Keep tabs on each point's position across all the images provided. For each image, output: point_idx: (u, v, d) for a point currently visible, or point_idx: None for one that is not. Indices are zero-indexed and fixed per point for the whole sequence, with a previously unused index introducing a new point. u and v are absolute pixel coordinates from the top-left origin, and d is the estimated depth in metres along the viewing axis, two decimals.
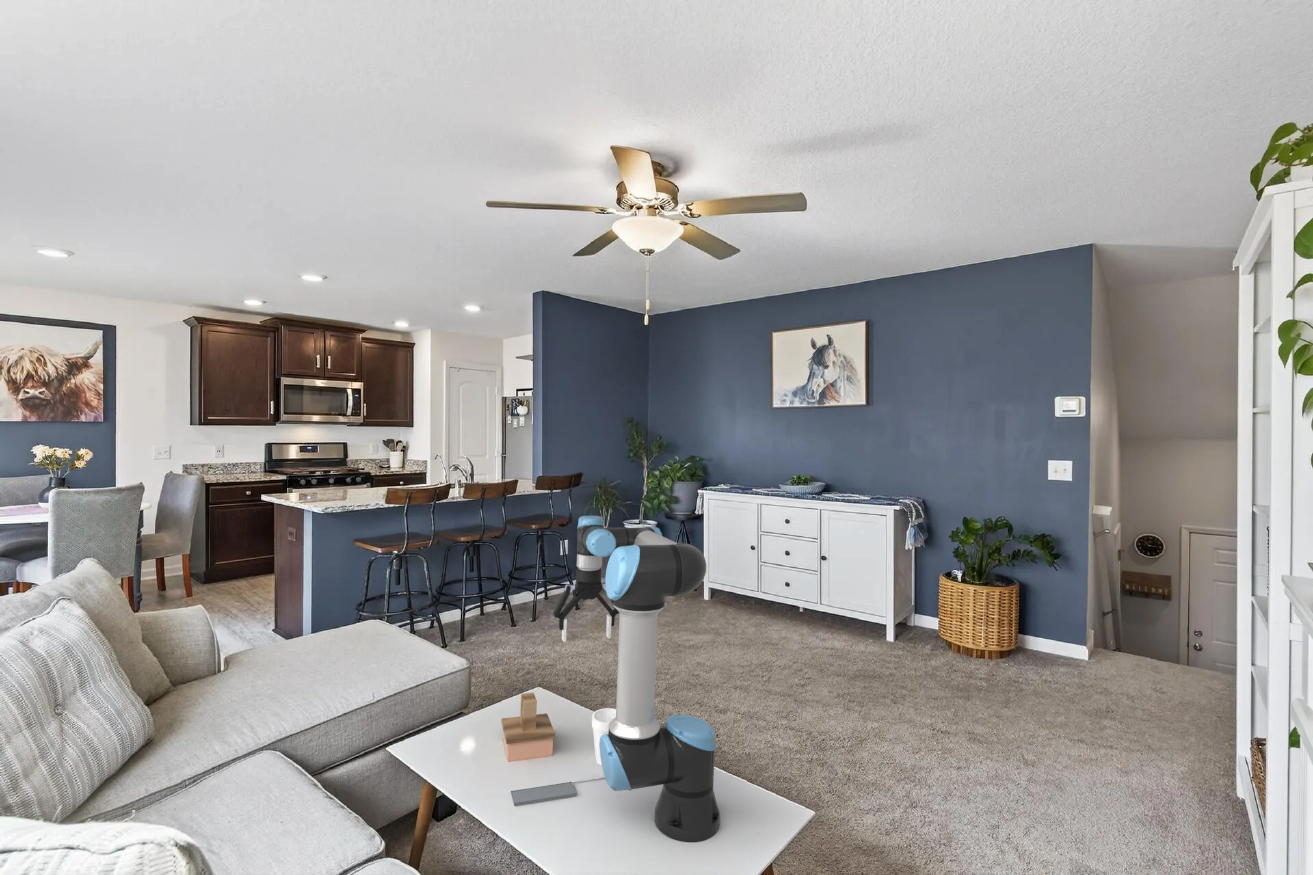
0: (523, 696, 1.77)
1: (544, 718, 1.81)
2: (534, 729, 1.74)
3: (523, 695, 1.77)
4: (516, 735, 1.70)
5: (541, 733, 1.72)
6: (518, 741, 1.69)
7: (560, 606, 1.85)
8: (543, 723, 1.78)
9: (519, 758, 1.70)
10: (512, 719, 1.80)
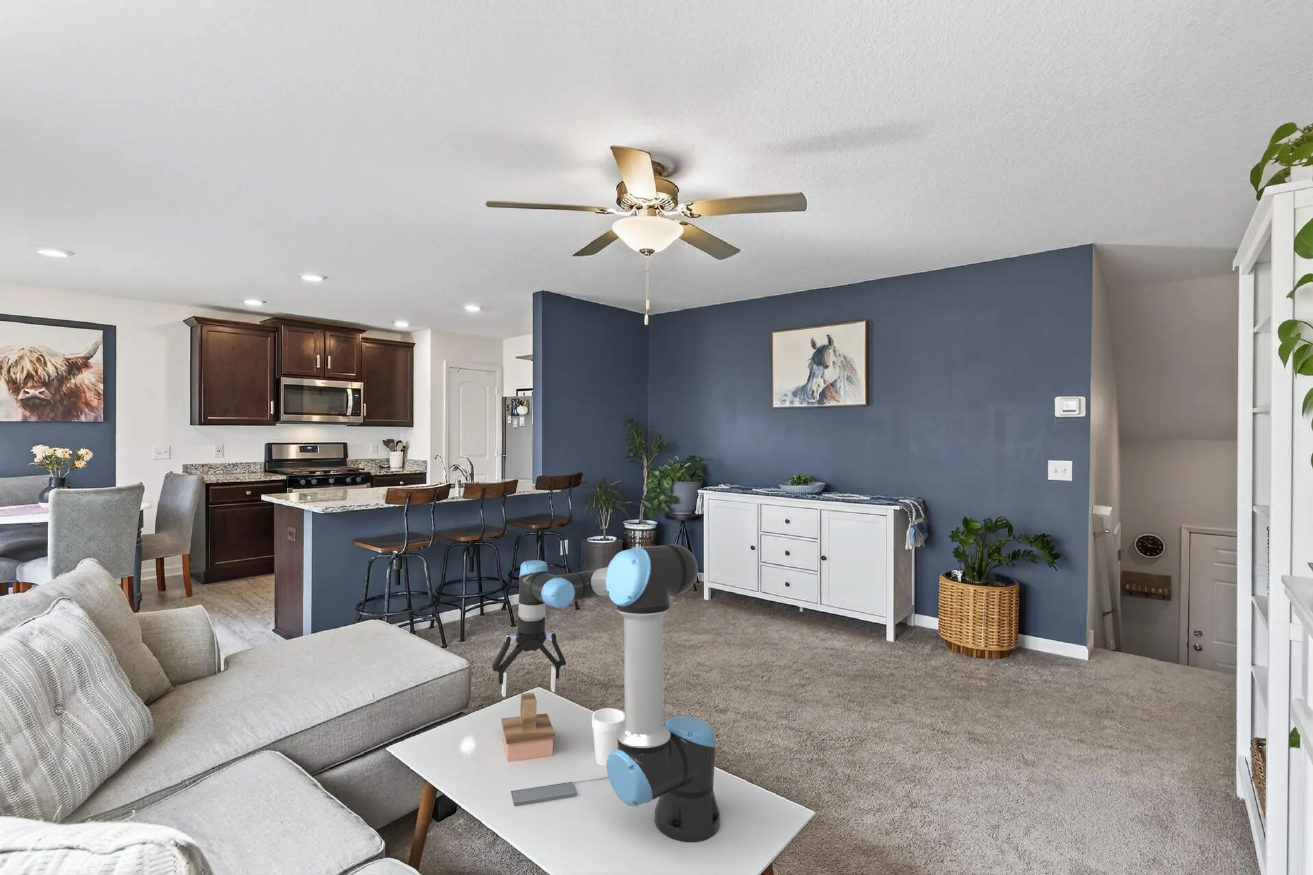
0: (523, 696, 1.77)
1: (544, 718, 1.81)
2: (534, 729, 1.74)
3: (523, 695, 1.77)
4: (516, 735, 1.70)
5: (541, 733, 1.72)
6: (518, 741, 1.69)
7: (499, 659, 1.72)
8: (543, 723, 1.78)
9: (519, 758, 1.70)
10: (512, 719, 1.80)
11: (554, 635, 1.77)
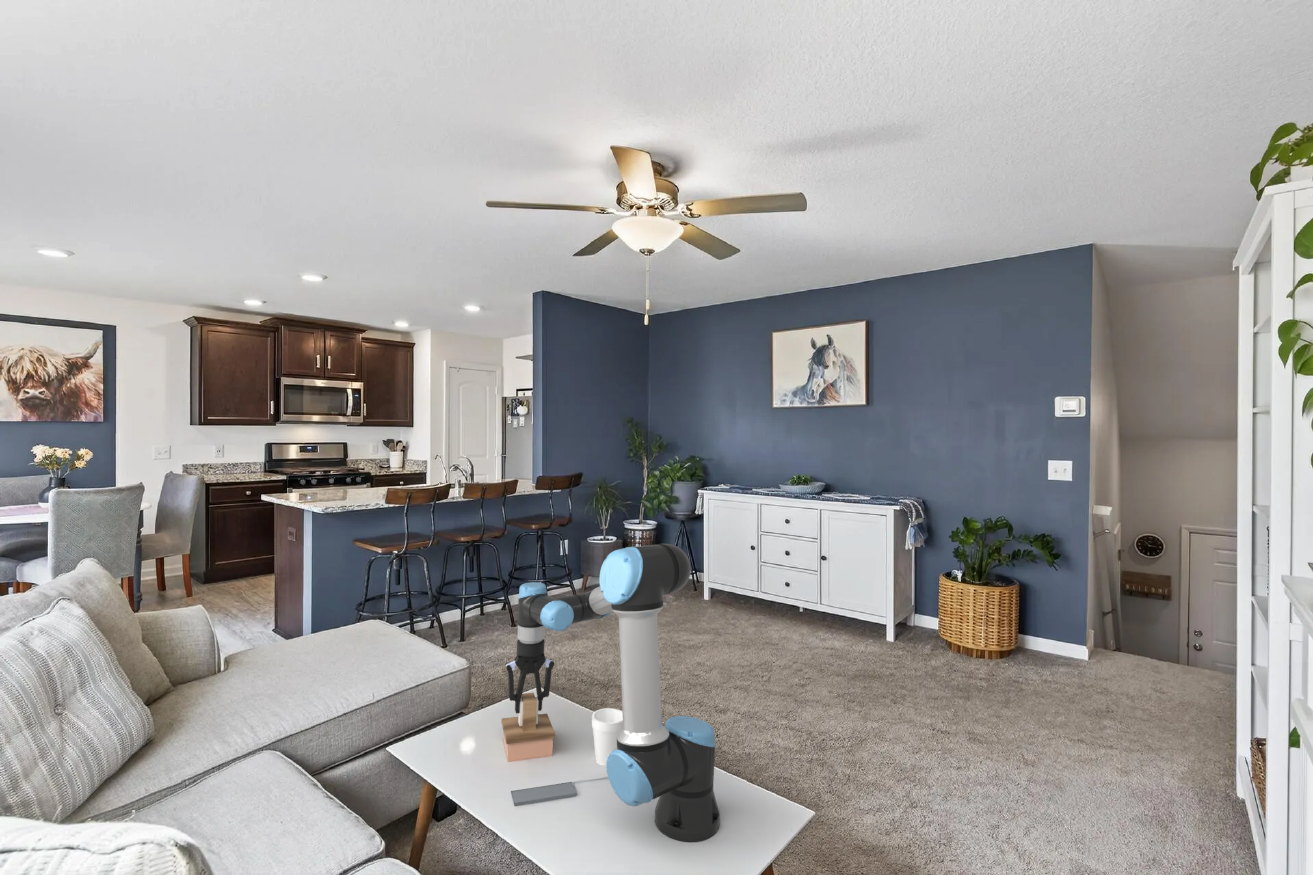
0: (523, 696, 1.77)
1: (544, 718, 1.81)
2: (534, 729, 1.74)
3: (523, 695, 1.77)
4: (516, 735, 1.70)
5: (541, 733, 1.72)
6: (518, 741, 1.69)
7: (510, 688, 1.73)
8: (543, 723, 1.78)
9: (519, 758, 1.70)
10: (512, 719, 1.80)
11: (552, 663, 1.77)
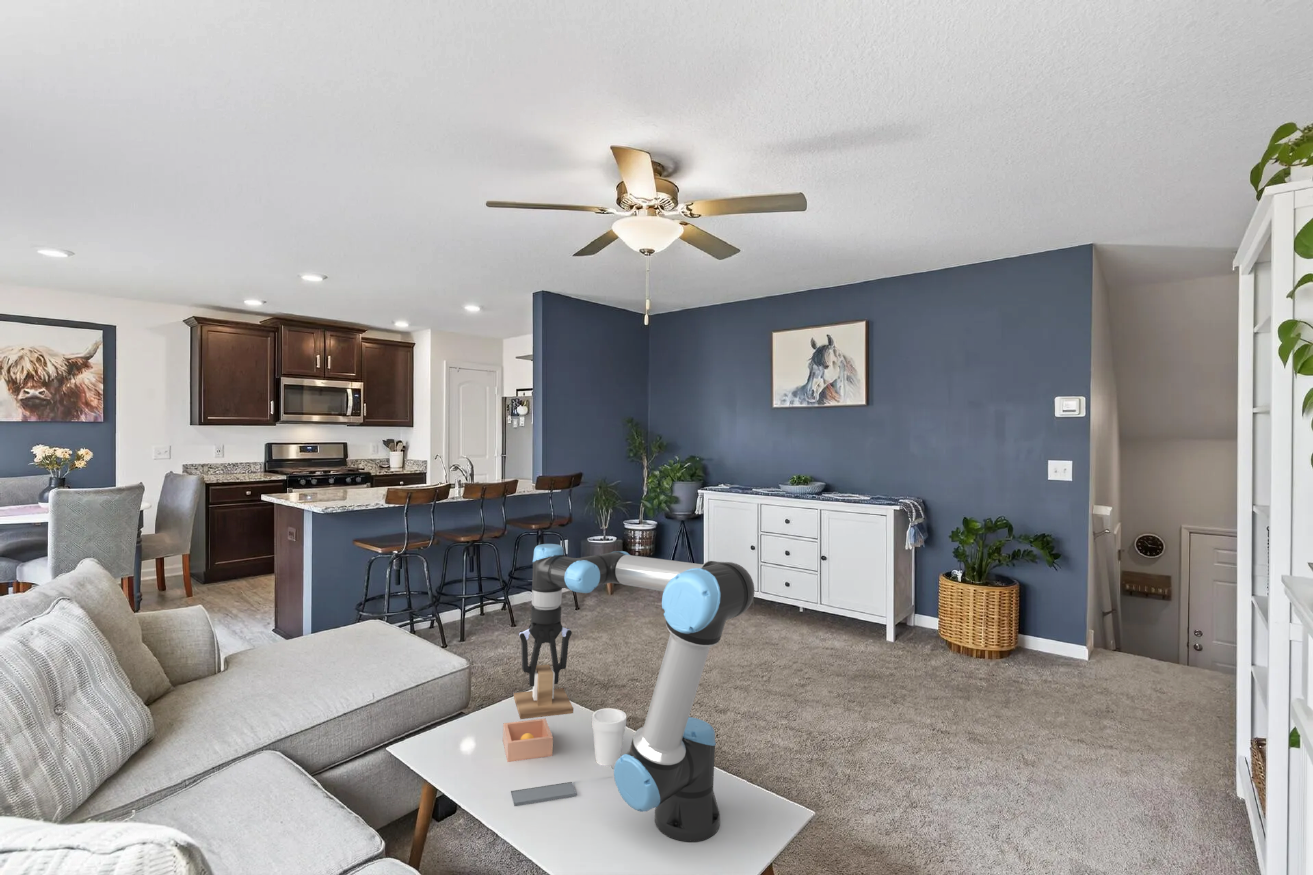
0: (538, 668, 1.61)
1: (560, 693, 1.66)
2: (550, 704, 1.59)
3: (538, 667, 1.62)
4: (531, 710, 1.55)
5: (558, 707, 1.57)
6: (533, 716, 1.54)
7: (524, 659, 1.58)
8: (559, 698, 1.63)
9: (519, 758, 1.70)
10: (525, 694, 1.64)
11: (570, 632, 1.62)
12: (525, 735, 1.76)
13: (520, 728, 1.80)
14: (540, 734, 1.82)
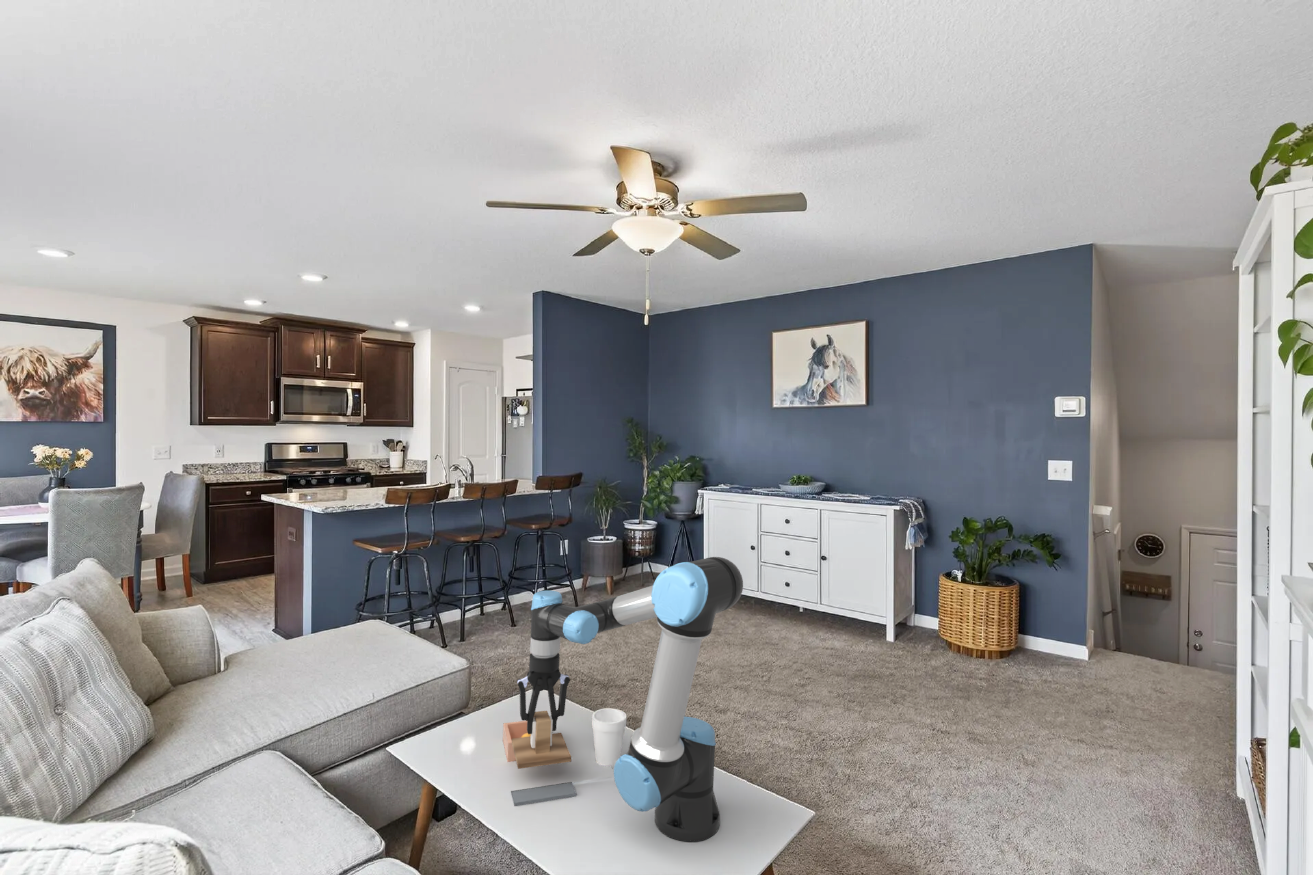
0: (536, 715, 1.62)
1: (558, 738, 1.66)
2: (548, 751, 1.59)
3: (536, 714, 1.62)
4: (529, 758, 1.55)
5: (555, 756, 1.57)
6: (531, 765, 1.54)
7: (522, 707, 1.58)
8: (557, 744, 1.63)
9: None
10: (523, 739, 1.65)
11: (568, 679, 1.62)
12: (525, 735, 1.76)
13: (520, 728, 1.80)
14: None
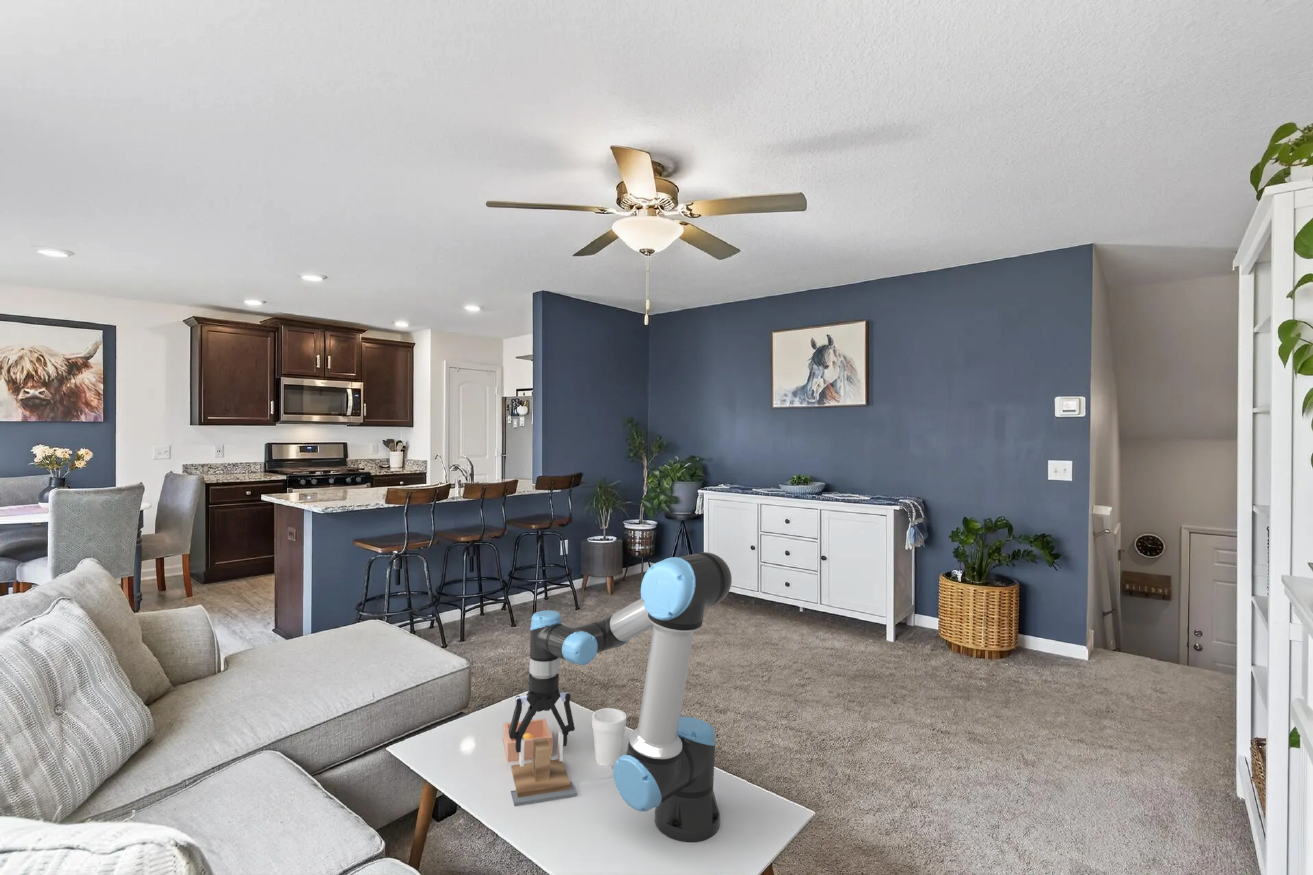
0: (535, 742, 1.61)
1: (558, 765, 1.66)
2: (547, 779, 1.59)
3: (535, 741, 1.62)
4: (528, 787, 1.55)
5: (555, 783, 1.57)
6: (531, 794, 1.54)
7: (514, 725, 1.57)
8: (557, 771, 1.63)
9: None
10: (523, 766, 1.64)
11: (569, 695, 1.62)
12: (525, 735, 1.76)
13: None
14: (540, 734, 1.82)
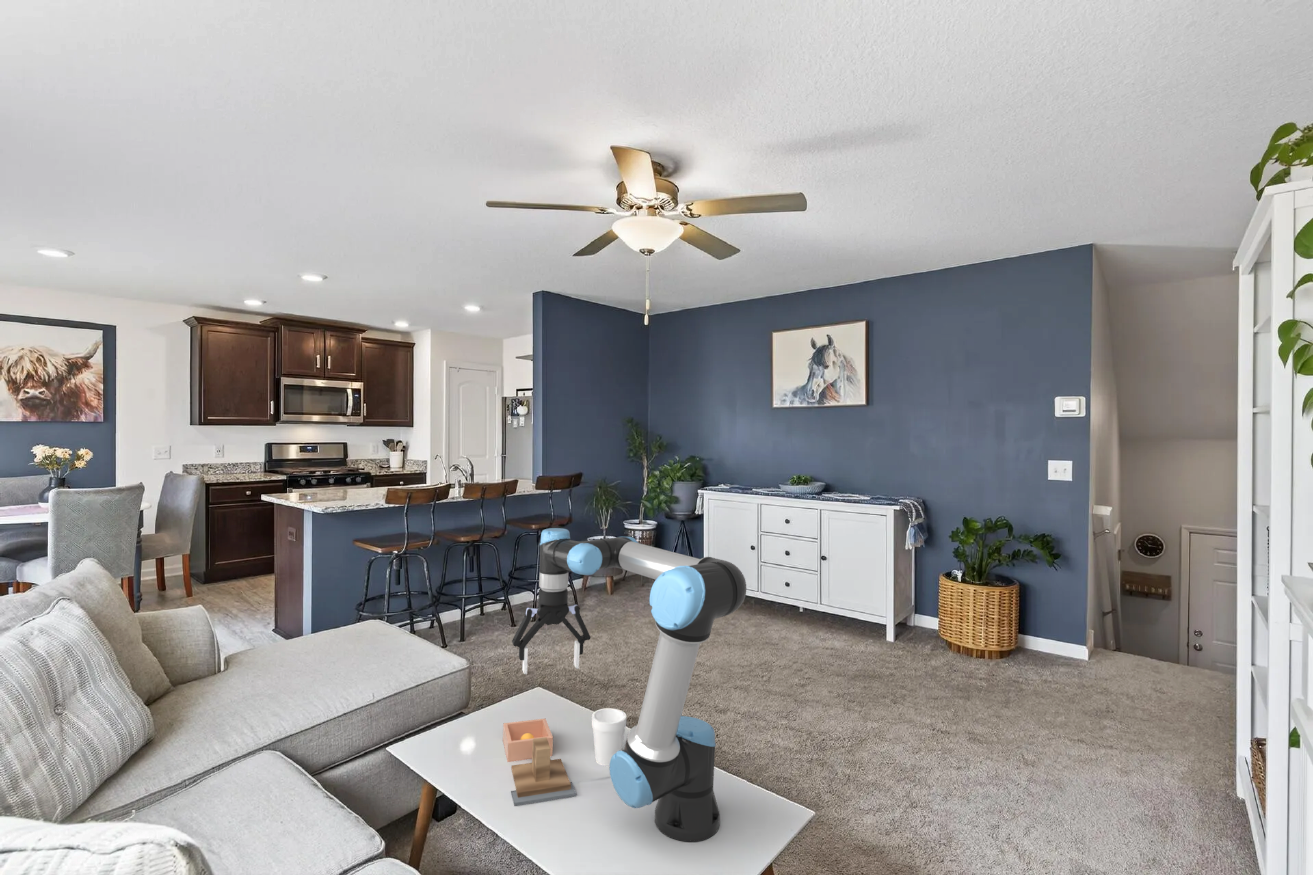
0: (535, 742, 1.61)
1: (558, 765, 1.66)
2: (547, 779, 1.59)
3: (535, 741, 1.62)
4: (528, 787, 1.55)
5: (555, 783, 1.57)
6: (531, 794, 1.54)
7: (520, 633, 1.61)
8: (557, 771, 1.63)
9: (519, 758, 1.70)
10: (523, 766, 1.64)
11: (577, 607, 1.66)
12: (525, 735, 1.76)
13: (520, 728, 1.80)
14: (540, 734, 1.82)
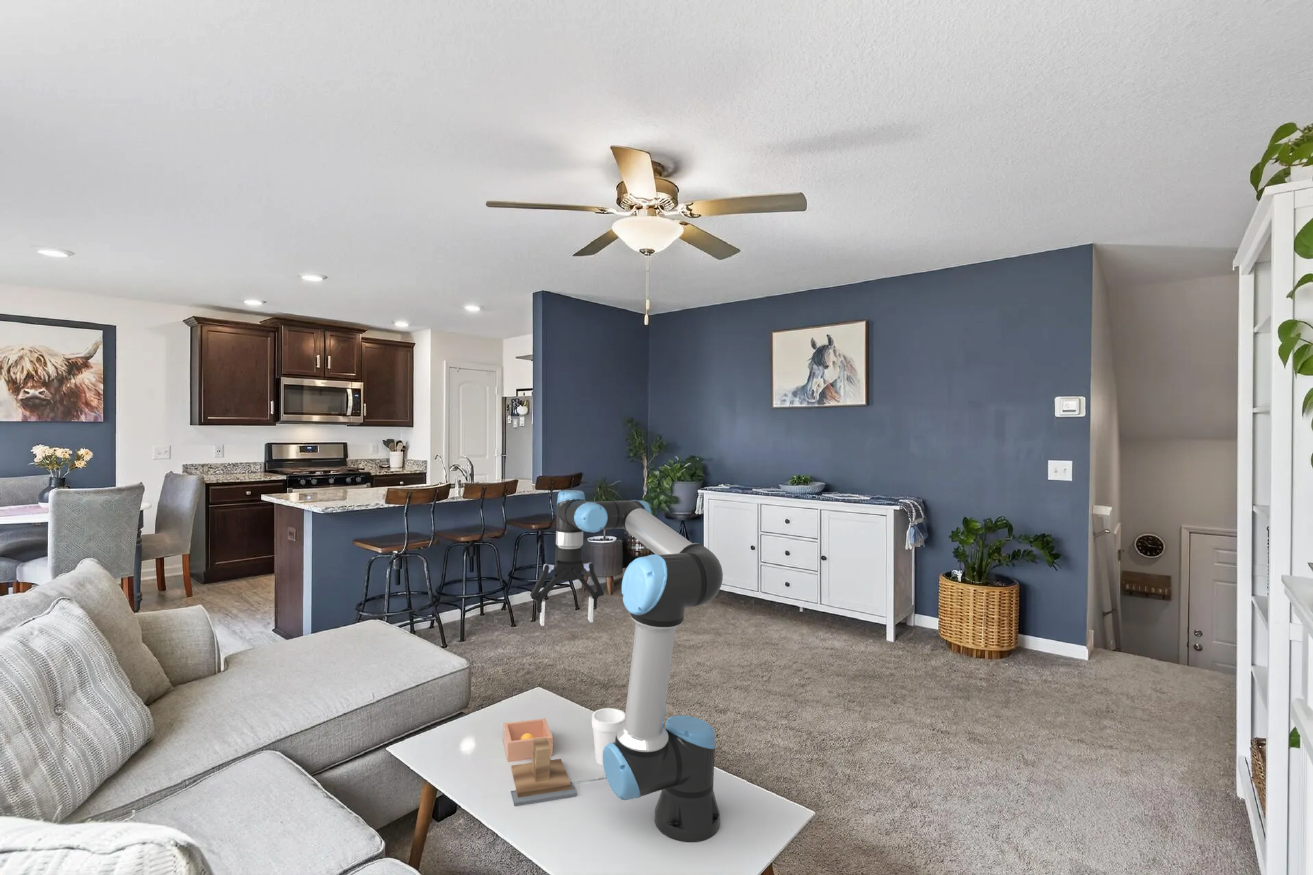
0: (535, 742, 1.61)
1: (558, 765, 1.66)
2: (547, 779, 1.59)
3: (535, 741, 1.62)
4: (528, 787, 1.55)
5: (555, 783, 1.57)
6: (531, 794, 1.54)
7: (537, 587, 1.71)
8: (557, 771, 1.63)
9: (519, 758, 1.70)
10: (523, 766, 1.64)
11: (592, 565, 1.76)
12: (525, 735, 1.76)
13: (520, 728, 1.80)
14: (540, 734, 1.82)
